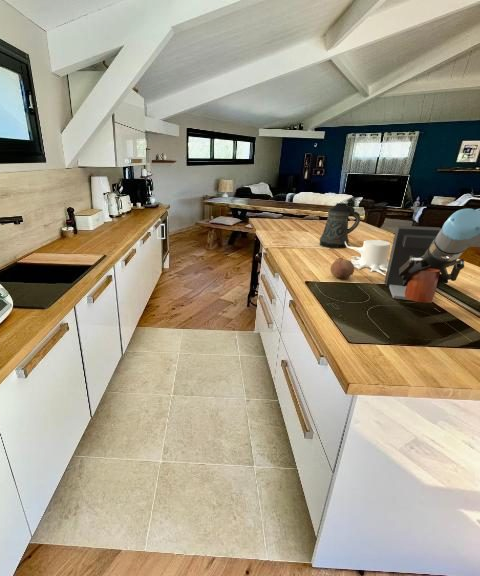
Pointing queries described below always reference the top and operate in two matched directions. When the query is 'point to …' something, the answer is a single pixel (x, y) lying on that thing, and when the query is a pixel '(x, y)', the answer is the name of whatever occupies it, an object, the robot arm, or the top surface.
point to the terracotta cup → (423, 286)
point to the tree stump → (372, 255)
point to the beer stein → (338, 226)
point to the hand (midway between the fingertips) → (418, 284)
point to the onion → (342, 268)
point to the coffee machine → (407, 254)
